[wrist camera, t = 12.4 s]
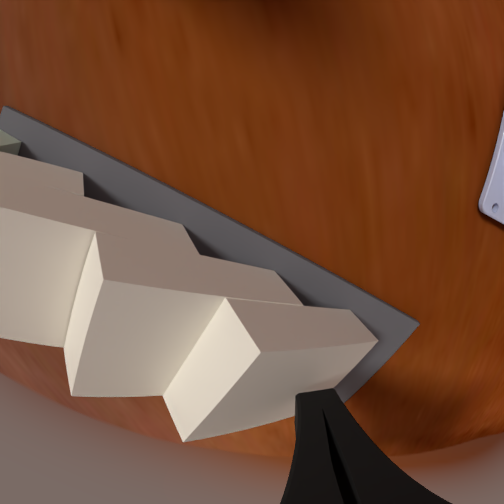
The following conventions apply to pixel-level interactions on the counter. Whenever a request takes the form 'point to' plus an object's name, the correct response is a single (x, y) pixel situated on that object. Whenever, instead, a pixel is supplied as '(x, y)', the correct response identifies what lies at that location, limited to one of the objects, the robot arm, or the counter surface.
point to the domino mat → (216, 236)
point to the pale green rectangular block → (9, 143)
